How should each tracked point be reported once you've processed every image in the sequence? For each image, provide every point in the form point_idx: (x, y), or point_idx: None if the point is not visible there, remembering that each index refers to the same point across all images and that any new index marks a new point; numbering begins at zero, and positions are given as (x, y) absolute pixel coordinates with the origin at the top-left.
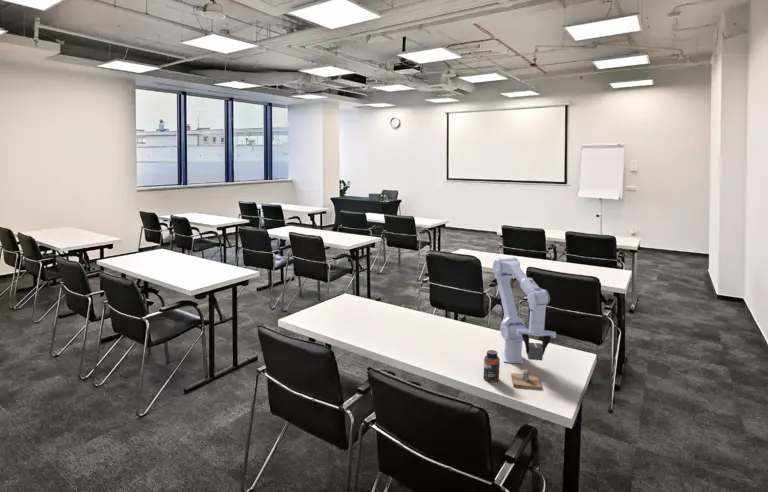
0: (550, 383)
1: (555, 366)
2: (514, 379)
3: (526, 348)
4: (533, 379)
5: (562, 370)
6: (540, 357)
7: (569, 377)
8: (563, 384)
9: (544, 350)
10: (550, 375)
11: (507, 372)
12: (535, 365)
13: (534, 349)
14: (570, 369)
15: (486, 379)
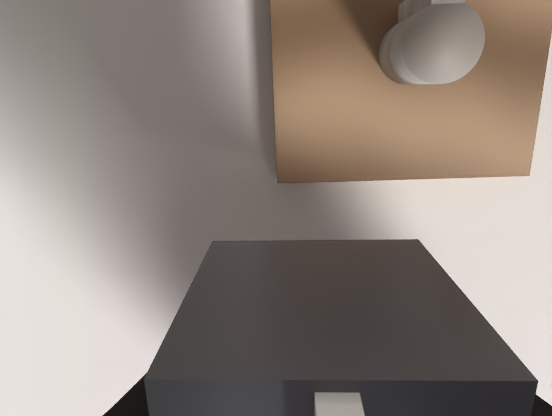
0: (167, 79)
1: None
2: (532, 18)
3: (538, 398)
4: (327, 71)
5: (66, 354)
6: (236, 261)
7: (9, 241)
8: (53, 86)
9: (138, 386)
10: (161, 246)
11: (534, 226)
12: None
13: (372, 347)
14: (9, 381)
15: None
